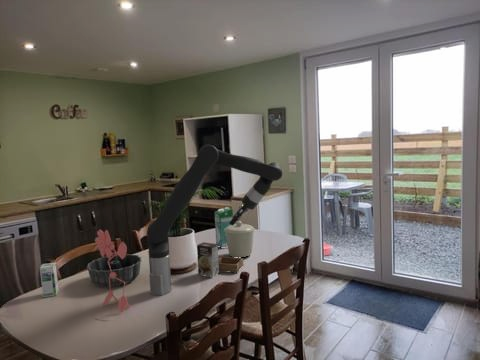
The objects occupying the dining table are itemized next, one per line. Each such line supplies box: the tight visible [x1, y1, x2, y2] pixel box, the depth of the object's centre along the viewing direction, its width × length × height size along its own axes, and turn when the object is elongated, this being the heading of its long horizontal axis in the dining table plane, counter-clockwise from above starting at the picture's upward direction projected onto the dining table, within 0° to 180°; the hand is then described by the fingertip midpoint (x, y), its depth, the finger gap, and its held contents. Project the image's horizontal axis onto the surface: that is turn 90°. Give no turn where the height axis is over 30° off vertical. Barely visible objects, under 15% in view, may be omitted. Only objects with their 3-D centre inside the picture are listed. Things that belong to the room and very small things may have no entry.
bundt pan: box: [86, 253, 142, 288], centre depth 184 cm, size 26×26×10 cm
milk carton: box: [214, 206, 234, 247], centre depth 234 cm, size 9×9×25 cm
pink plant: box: [92, 229, 131, 322], centre depth 149 cm, size 15×26×35 cm, turn 51°
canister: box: [224, 220, 255, 258], centre depth 214 cm, size 18×18×21 cm
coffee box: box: [196, 242, 220, 278], centre depth 186 cm, size 9×6×16 cm
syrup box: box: [39, 262, 59, 298], centre depth 169 cm, size 6×6×14 cm
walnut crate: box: [218, 256, 244, 273], centre depth 194 cm, size 10×13×4 cm
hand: (233, 222), depth 178 cm, fingers open, 8 cm apart
